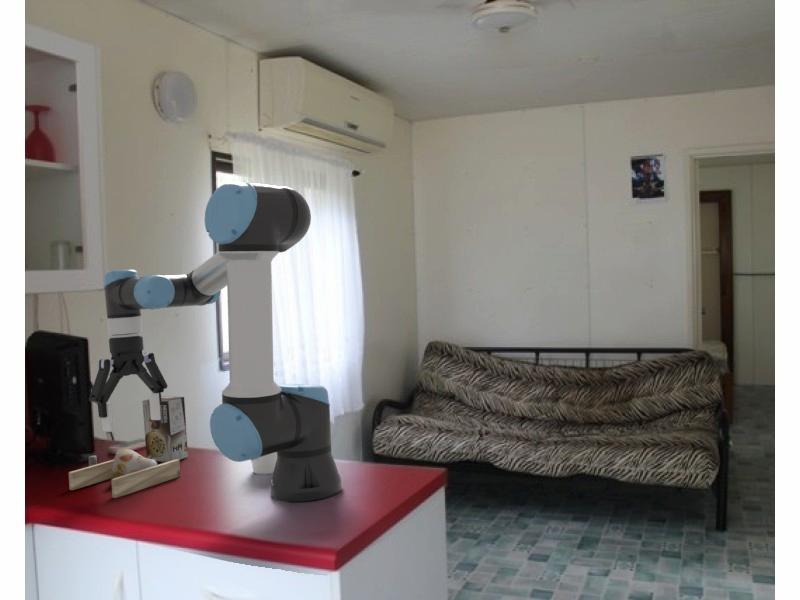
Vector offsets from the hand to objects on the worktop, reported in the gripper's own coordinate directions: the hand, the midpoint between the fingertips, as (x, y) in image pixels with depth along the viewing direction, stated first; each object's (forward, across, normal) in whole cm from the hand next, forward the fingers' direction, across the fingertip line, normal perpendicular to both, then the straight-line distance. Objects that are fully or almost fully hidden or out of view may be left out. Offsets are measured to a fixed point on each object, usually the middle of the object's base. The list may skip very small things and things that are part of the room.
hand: (132, 425), depth 172 cm
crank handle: (+13, -2, -13) cm, 18 cm away
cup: (+14, -19, +24) cm, 33 cm away
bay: (+13, +2, -1) cm, 13 cm away
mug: (+12, -1, -1) cm, 13 cm away
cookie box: (+13, -18, -10) cm, 24 cm away
